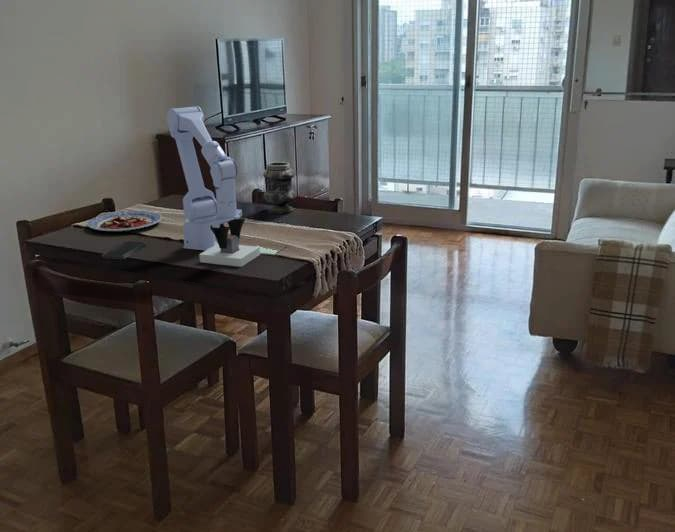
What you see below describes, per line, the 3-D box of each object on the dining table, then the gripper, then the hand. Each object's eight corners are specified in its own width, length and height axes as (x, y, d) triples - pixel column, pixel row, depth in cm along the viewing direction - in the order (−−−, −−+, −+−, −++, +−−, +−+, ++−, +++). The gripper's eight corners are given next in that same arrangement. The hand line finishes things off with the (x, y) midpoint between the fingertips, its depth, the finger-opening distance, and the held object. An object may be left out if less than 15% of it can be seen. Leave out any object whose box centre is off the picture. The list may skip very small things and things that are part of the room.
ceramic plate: (135, 238, 235) (134, 230, 234) (72, 233, 243) (71, 224, 242) (176, 219, 258) (175, 211, 257) (117, 214, 266) (116, 206, 265)
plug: (221, 259, 211) (219, 237, 209) (227, 255, 215) (226, 234, 213) (233, 261, 210) (231, 238, 208) (239, 257, 213) (237, 235, 211)
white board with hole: (200, 262, 209) (199, 254, 209) (220, 250, 220) (219, 242, 219) (241, 266, 205) (240, 258, 204) (259, 254, 215) (259, 247, 214)
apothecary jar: (299, 206, 272) (298, 160, 266) (290, 214, 260) (288, 166, 255) (270, 205, 274) (267, 160, 268) (260, 213, 263) (257, 166, 257)
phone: (147, 242, 227) (122, 257, 213) (147, 246, 227) (123, 260, 213) (125, 241, 229) (99, 255, 215) (125, 244, 229) (100, 259, 215)
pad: (248, 252, 218) (248, 251, 218) (261, 244, 226) (261, 243, 225) (274, 255, 215) (274, 253, 214) (286, 246, 222) (286, 245, 222)
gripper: (226, 207, 199) (229, 252, 203) (249, 196, 211) (252, 239, 216) (204, 205, 201) (208, 250, 206) (229, 194, 214) (232, 237, 218)
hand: (229, 244), depth 211 cm, fingers open, 7 cm apart
